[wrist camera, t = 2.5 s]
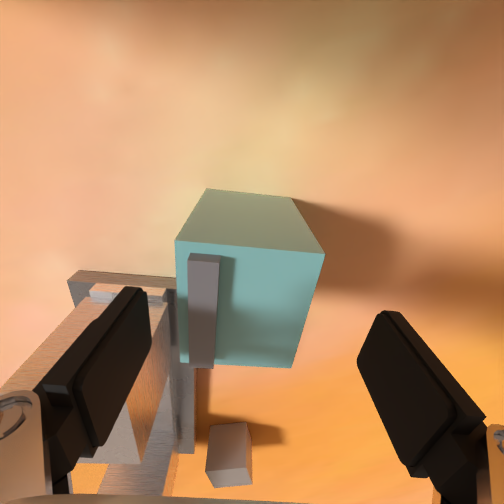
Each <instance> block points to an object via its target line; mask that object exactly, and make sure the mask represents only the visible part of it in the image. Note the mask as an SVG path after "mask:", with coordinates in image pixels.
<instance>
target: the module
mask: <svg viewBox="0 0 504 504" xmlns="http://www.w3.org/2000/svg"><path fill="white" fill-rule="evenodd" d="M324 258H325V252H324V251H323V249H322V248H321V246H320V244H319V243H318V241H317V239H316V238H315V236H314V235H313V233H312V231H311V230H310V228H309V227H308V225H307V223H306V222H305V220H304V218H303V217H302V215H301V214H300V212H299V210H298V209H297V207H296V205H295V204H294V202H293V201H292V199H291V198H289V197H280V196H270V195H261V194H252V193H243V192H234V191H224V190H215V189H206V190H205V192H204V193H203V195H202V197H201V198H200V200H199V201H198V203H197V205H196V206H195V208H194V210H193V211H192V213H191V214H190V216H189V218H188V219H187V221H186V223H185V224H184V226H183V227H182V229H181V231H180V232H179V234H178V236H177V237H176V239H175V261H176V283H177V305H178V327H179V349H180V362H182V363H189V367H190V368H209V369H213V367H214V364H219V365H238V366H257V367H276V368H291V367H292V364H293V361H294V357H295V354H296V351H297V347H298V344H299V341H300V337H301V334H302V331H303V327H304V324H305V321H306V317H307V314H308V311H309V308H310V304H311V301H312V298H313V294H314V291H315V288H316V284H317V281H318V278H319V274H320V271H321V268H322V264H323V261H324Z"/></svg>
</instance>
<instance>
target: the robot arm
mask: <svg viewBox="0 0 504 504" xmlns="http://www.w3.org/2000/svg"><path fill="white" fill-rule="evenodd" d="M151 345H152V335H151V326H150V316H149V307H148V297H147V292H146V291H143V289H142V288H141V287H133V286H125V287H124V288H123V289H122V290H121V291H120V292H119V293H118V295H117V296H116V297H115V298H114V299H113V301H112V302H111V303H110V304H109V305H108V306H107V308H106V309H105V310H104V311H103V312H102V314H101V315H100V316H99V317H98V318H97V319H95V320H93V321H92V322H91V323H90V324H89V325H88V326H87V327H86V328H85V330H84V331H83V332H82V333H81V334H80V335H79V337H78V338H77V339H76V340H75V341H74V342H73V343H72V345H71V346H70V347H69V348H68V349H67V350H66V352H65V353H64V354H63V355H62V356H61V357H60V359H59V360H58V361H57V362H56V363H55V364H54V365H53V367H52V368H51V369H50V370H49V371H48V372H47V374H46V375H45V376H44V377H43V378H42V379H41V381H40V382H39V383H38V384H37V385H36V386H35V388H34V389H33V390H32V391H28V390H19V391H13V392H10V393H7V394H4V395H1V396H0V504H308V503H289V502H270V501H251V500H231V499H210V498H189V497H168V496H146V495H110V494H73V488H72V480H71V473H70V471H72V470H73V469H74V467H75V465H76V463H77V461H78V459H79V457H81V458H93V457H94V455H95V453H96V451H97V449H98V447H102V446H103V445H104V444H105V443H106V441H107V439H108V437H109V435H110V433H111V431H112V429H113V427H114V425H115V423H116V420H117V418H118V416H119V414H120V412H121V410H122V408H123V406H124V404H125V402H126V399H127V397H128V395H129V393H130V391H131V389H132V387H133V385H134V383H135V381H136V378H137V376H138V374H139V372H140V370H141V368H142V366H143V364H144V362H145V360H146V357H147V355H148V353H149V351H150V349H151ZM357 366H358V369H359V371H360V373H361V375H362V378H363V380H364V382H365V384H366V387H367V389H368V391H369V393H370V395H371V398H372V400H373V402H374V404H375V407H376V409H377V411H378V413H379V415H380V418H381V420H382V422H383V424H384V427H385V429H386V431H387V433H388V435H389V438H390V440H391V442H392V444H393V446H394V449H395V451H396V453H397V455H398V458H399V459H400V461H401V462H402V464H404V465H406V467H407V470H408V472H409V474H410V476H411V477H416V478H428V477H430V479H431V481H432V483H433V485H434V488H433V499H432V504H504V426H503V425H499V424H491V425H490V426H488V427H487V426H486V425H485V424H484V423H483V420H484V419H485V418H486V416H485V415H484V413H483V412H482V411H481V410H480V408H479V407H478V406H477V405H476V404H475V402H474V401H473V400H472V399H471V398H470V396H469V395H468V394H467V393H466V392H465V390H464V389H463V388H462V387H461V385H460V384H459V383H458V382H457V381H456V379H455V378H454V377H453V376H452V375H451V373H450V372H449V371H448V370H447V369H446V367H445V366H444V365H443V364H442V363H441V361H440V360H439V359H438V358H437V356H436V355H435V354H434V353H433V352H432V350H431V349H430V348H429V347H428V346H427V344H426V343H425V342H424V341H423V340H422V338H421V337H420V336H419V335H418V334H417V332H416V331H415V330H414V329H413V327H412V326H411V325H410V324H409V323H408V321H407V320H406V319H405V318H404V317H403V315H402V314H401V313H400V312H396V311H386V310H384V311H382V312H381V313H380V314H377V316H376V318H375V320H374V322H373V324H372V326H371V329H370V331H369V333H368V335H367V337H366V340H365V342H364V344H363V346H362V348H361V351H360V353H359V355H358V357H357Z"/></svg>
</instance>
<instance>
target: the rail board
mask: <svg viewBox="0 0 504 504" xmlns="http://www.w3.org/2000/svg"><path fill="white" fill-rule="evenodd" d="M67 283H68V286H69V289H70V292H71V296H72V299H73V302H74V305H75V309H74V310H73V311H72V312H71V313H70V314H69V315H68V316H67V317H66V318H65V319H64V320H63V322H62V323H61V324H60V325H59V326H58V327H57V328H56V329H55V330H54V331H53V332H52V333H51V334H50V336H49V337H48V338H47V339H46V340H45V341H44V342H43V343H42V344H41V345H40V346H39V347H38V348H37V349H36V351H35V352H34V353H33V354H32V355H31V356H30V357H29V358H28V359H27V360H26V361H25V362H24V363H23V365H22V366H21V367H20V368H19V369H18V370H17V371H16V372H15V373H14V374H13V375H12V376H11V377H10V378H9V380H8V381H7V382H6V383H5V384H4V385H3V386H2V387H1V388H0V396H1V395H4V394H7V393H10V392H13V391H19V390H28V391H32V390H33V389H34V388H35V386H36V385H37V384H38V383H39V382H40V381H41V379H42V378H43V377H44V376H45V375H46V374H47V372H48V371H49V370H50V369H51V368H52V367H53V365H54V364H55V363H56V362H57V361H58V360H59V359H60V357H61V356H62V355H63V354H64V353H65V352H66V350H67V349H68V348H69V347H70V346H71V345H72V343H73V342H74V341H75V340H76V339H77V338H78V337H79V335H80V334H81V333H82V332H83V331H84V330H85V328H86V327H87V326H88V325H89V324H90V323H91V322H92V321H93V320H95V319H97V318H98V317H99V316H100V315H101V314H102V312H103V311H104V310H105V309H106V308H107V306H108V305H109V304H110V303H111V302H112V301H113V299H114V298H115V297H116V296H117V295H118V293H119V292H120V291H121V290H122V289H123V288H124V287H125V286H133V287H141V288H142V289H143V291H146V292H147V297H148V307H149V316H150V326H151V335H152V345H151V349H150V351H149V353H148V355H147V357H146V360H145V362H144V364H143V366H142V368H141V370H140V372H139V374H138V376H137V378H136V381H135V383H134V385H133V387H132V389H131V391H130V393H129V395H128V397H127V399H126V402H125V404H124V406H123V408H122V410H121V412H120V414H119V416H118V418H117V420H116V423H115V425H114V427H113V429H112V431H111V433H110V435H109V437H108V439H107V441H106V443H105V444H104V445H103V446H102V447H98V449H97V451H96V453H95V455H94V457H93V458H81V457H79V459H78V461H77V463H106V464H109V465H108V468H107V470H106V473H105V475H104V478H103V480H102V483H101V485H100V488H99V490H98V493H97V494H110V495H146V496H168V497H171V496H172V491H173V486H174V481H175V476H176V471H177V466H178V461H179V459H178V453H182V454H194V451H195V445H196V374H197V368H190V367H189V363H182V362H180V349H179V327H178V305H177V283H176V278H167V277H155V276H142V275H129V274H117V273H104V272H92V271H77V272H76V273H75V274H74V275H73V276H72V277H71V278H69V279H68V280H67Z"/></svg>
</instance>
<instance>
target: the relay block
mask: <svg viewBox="0 0 504 504" xmlns="http://www.w3.org/2000/svg"><path fill="white" fill-rule="evenodd" d="M205 472H206V474H207V476H208V478H209V479H210V481H211V483H212V485H213V486H214V488H220V487H230V486H241V485H251V484H252V440H251V436H250V433H249V430H248V427H247V423H246V422H240V423H231V424H222V425H212V426H210V434H209V442H208V451H207V460H206V468H205Z"/></svg>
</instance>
